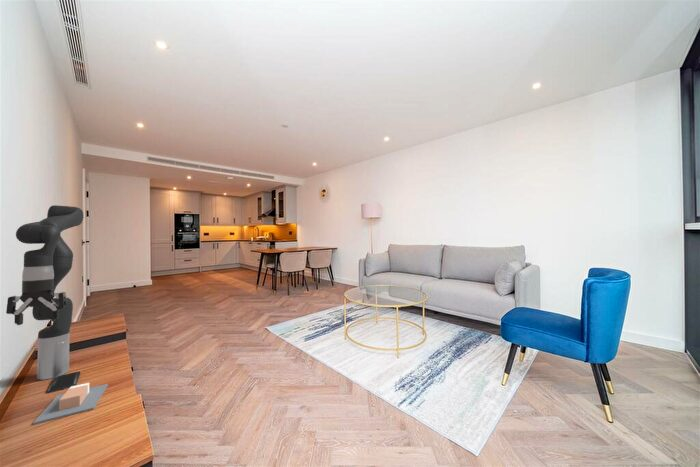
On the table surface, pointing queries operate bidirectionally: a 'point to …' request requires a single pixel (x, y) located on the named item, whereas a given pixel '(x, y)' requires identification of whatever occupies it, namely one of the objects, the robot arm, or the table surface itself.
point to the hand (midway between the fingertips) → (37, 322)
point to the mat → (86, 405)
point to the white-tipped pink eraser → (74, 396)
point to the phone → (64, 382)
